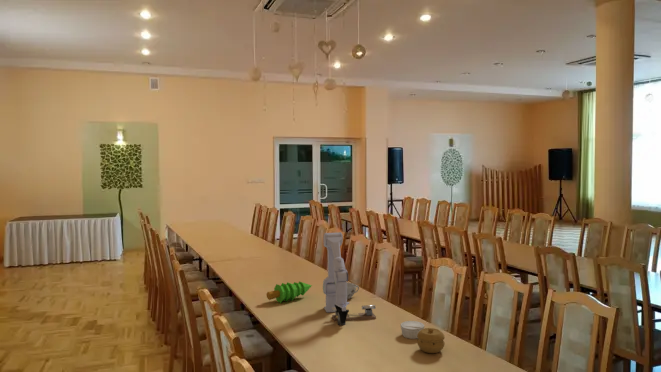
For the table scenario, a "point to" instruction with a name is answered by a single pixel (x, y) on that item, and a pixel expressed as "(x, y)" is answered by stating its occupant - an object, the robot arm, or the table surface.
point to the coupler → (339, 320)
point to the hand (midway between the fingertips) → (341, 320)
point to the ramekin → (411, 329)
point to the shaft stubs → (367, 309)
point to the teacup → (351, 289)
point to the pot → (430, 340)
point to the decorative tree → (288, 291)
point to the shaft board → (356, 316)
